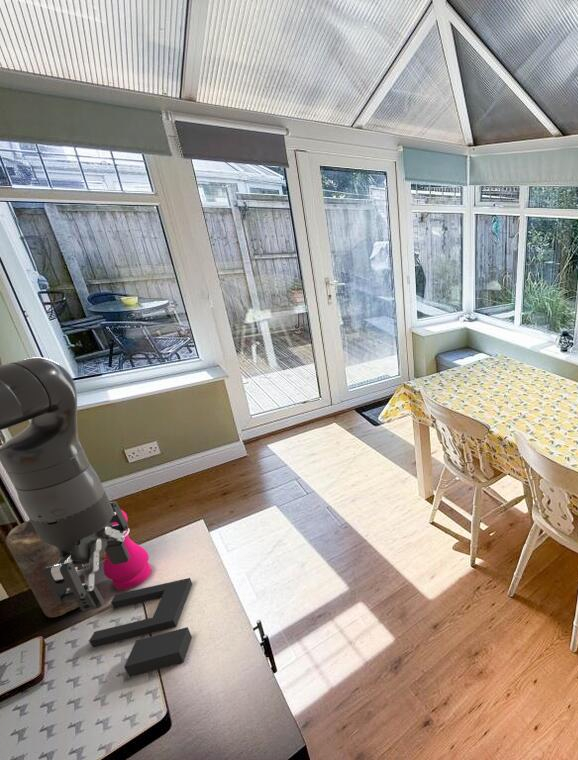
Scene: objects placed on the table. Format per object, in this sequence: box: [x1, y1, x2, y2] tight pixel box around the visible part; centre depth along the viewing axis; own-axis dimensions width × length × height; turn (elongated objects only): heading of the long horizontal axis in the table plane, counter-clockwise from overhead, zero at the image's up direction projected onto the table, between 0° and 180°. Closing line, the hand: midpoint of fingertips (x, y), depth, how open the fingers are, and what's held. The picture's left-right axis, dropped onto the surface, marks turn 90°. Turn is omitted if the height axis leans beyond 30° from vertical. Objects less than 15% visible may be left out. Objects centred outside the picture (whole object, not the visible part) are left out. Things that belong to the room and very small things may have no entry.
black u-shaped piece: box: [88, 577, 193, 649], centre depth 83 cm, size 13×10×2 cm
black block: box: [123, 626, 193, 678], centre depth 75 cm, size 8×5×3 cm, turn 110°
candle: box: [5, 519, 85, 618], centre depth 81 cm, size 8×7×20 cm
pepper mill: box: [102, 509, 152, 591], centre depth 87 cm, size 7×7×20 cm
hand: (108, 583), depth 63 cm, fingers open, 8 cm apart
